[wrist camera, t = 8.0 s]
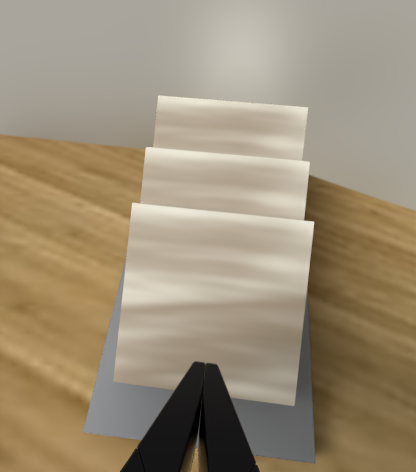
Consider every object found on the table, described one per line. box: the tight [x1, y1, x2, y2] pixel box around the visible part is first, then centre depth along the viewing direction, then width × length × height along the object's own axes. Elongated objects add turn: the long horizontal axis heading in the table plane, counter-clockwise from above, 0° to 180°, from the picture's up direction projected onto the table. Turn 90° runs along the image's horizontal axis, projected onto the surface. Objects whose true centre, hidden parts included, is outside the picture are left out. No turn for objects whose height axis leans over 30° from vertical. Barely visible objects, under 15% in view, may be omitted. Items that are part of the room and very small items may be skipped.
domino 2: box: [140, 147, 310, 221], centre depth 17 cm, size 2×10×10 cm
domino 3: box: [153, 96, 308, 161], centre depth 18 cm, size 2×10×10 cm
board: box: [83, 199, 315, 463], centre depth 18 cm, size 16×13×1 cm
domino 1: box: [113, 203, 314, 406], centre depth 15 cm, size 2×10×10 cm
